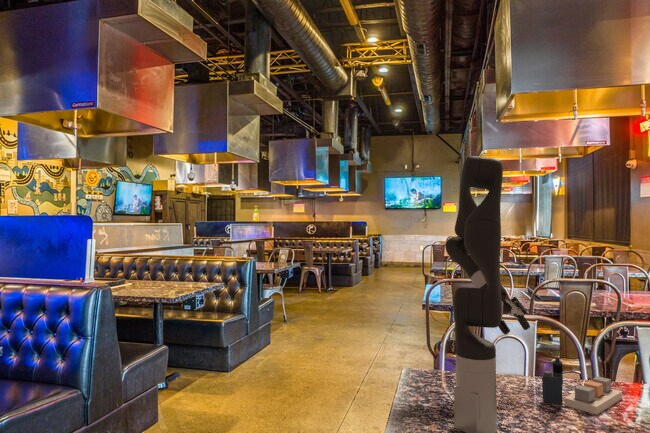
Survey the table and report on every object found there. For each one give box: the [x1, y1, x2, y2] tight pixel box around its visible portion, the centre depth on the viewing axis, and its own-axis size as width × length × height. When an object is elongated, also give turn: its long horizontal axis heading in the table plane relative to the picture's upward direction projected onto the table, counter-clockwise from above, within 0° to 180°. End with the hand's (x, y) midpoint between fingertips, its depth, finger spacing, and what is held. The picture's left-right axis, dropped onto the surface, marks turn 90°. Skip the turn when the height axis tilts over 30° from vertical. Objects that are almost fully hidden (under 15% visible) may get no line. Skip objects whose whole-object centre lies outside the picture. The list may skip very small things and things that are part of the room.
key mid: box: [583, 380, 603, 397], centre depth 122 cm, size 4×4×3 cm
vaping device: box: [541, 357, 564, 405], centre depth 122 cm, size 3×5×12 cm, turn 79°
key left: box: [574, 384, 595, 402], centre depth 118 cm, size 4×4×3 cm
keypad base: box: [563, 388, 623, 415], centre depth 122 cm, size 18×8×2 cm, turn 129°
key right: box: [592, 375, 612, 392], centre depth 126 cm, size 4×4×3 cm
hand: (517, 330), depth 131 cm, fingers open, 8 cm apart
